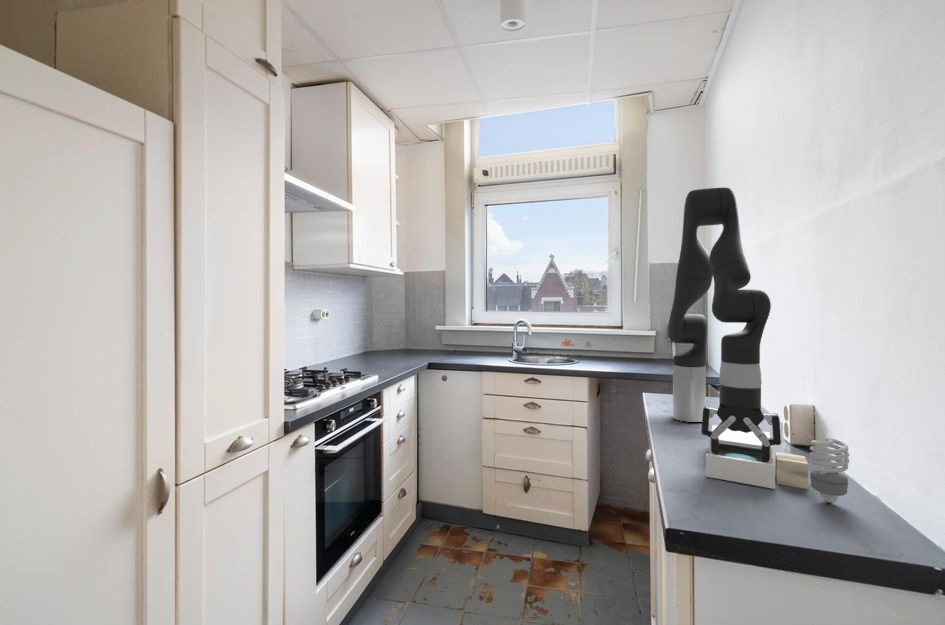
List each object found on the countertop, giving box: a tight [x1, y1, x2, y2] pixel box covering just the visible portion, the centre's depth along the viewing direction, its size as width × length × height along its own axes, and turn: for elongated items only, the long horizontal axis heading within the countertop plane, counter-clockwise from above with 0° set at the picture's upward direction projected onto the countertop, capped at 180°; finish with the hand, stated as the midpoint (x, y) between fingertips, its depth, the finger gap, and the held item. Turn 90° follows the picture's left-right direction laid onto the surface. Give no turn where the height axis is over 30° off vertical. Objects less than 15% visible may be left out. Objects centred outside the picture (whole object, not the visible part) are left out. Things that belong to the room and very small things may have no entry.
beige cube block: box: [774, 451, 809, 490], centre depth 89 cm, size 5×5×5 cm
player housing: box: [708, 424, 773, 464], centre depth 102 cm, size 13×12×6 cm
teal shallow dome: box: [724, 453, 757, 461], centre depth 92 cm, size 6×6×2 cm
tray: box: [705, 449, 776, 490], centre depth 94 cm, size 13×12×5 cm
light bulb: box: [809, 436, 850, 504], centre depth 79 cm, size 6×6×12 cm
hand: (739, 459), depth 92 cm, fingers open, 8 cm apart
